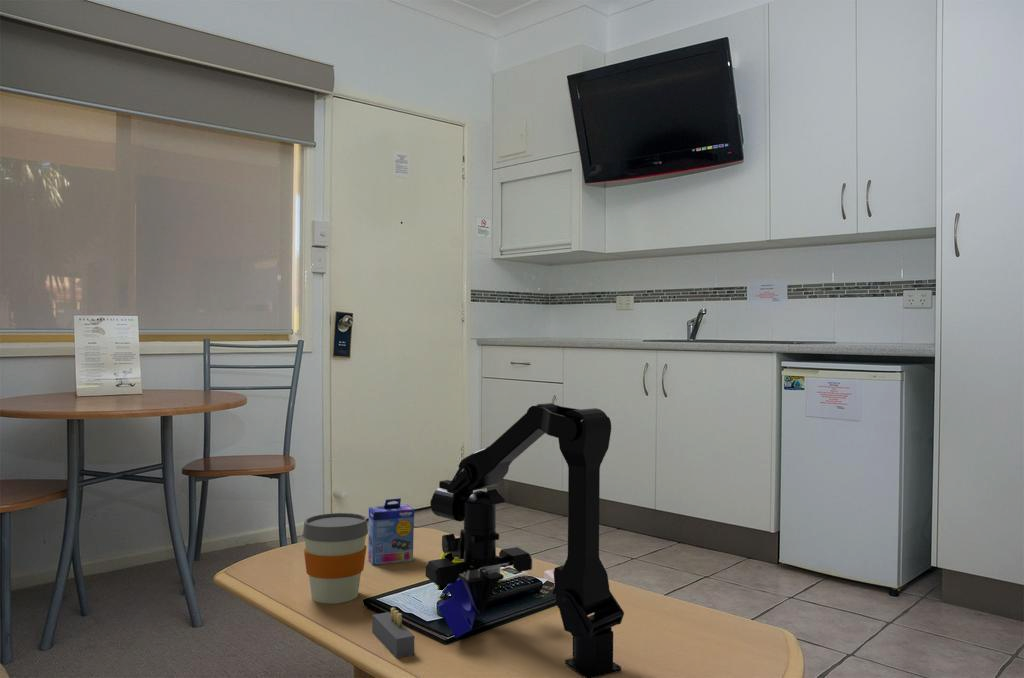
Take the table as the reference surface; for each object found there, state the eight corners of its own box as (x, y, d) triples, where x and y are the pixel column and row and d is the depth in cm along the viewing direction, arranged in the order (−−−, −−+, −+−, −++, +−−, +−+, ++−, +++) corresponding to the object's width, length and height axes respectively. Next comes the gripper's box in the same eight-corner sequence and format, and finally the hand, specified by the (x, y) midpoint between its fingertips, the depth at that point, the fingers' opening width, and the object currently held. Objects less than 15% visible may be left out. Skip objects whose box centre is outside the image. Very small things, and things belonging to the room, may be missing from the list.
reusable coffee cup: (319, 611, 138) (319, 530, 138) (291, 593, 147) (292, 518, 147) (378, 597, 146) (379, 521, 146) (349, 581, 155) (349, 509, 155)
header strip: (415, 654, 119) (415, 623, 119) (396, 658, 117) (396, 626, 117) (389, 629, 129) (389, 600, 129) (372, 632, 128) (372, 603, 128)
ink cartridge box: (372, 566, 166) (373, 501, 166) (366, 559, 171) (367, 497, 171) (414, 561, 170) (415, 498, 171) (407, 554, 175) (408, 493, 176)
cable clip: (456, 616, 136) (440, 587, 136) (478, 604, 135) (462, 575, 136) (448, 642, 124) (430, 611, 124) (471, 629, 123) (453, 598, 124)
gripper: (505, 510, 143) (505, 590, 144) (414, 522, 135) (414, 607, 135) (533, 523, 134) (533, 609, 134) (437, 537, 125) (437, 629, 125)
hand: (479, 613), depth 132 cm, fingers closed
